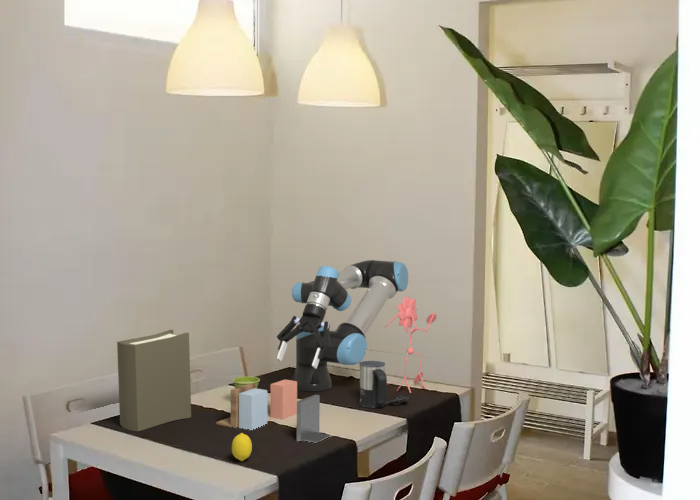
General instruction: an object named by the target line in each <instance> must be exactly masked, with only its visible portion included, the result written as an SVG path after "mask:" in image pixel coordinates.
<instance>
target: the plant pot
mask: <svg viewBox="0 0 700 500" xmlns="http://www.w3.org/2000/svg"><path fill="white" fill-rule="evenodd" d="M260 381H261V378H259V377H257V376H239V377H236V378H235V377H234V378H233V379H232V382H233V385H234V388H238V387H241V386H244V385H247V384H250V383H252V384H256V388H257V389H258V386H259V383H260Z"/></svg>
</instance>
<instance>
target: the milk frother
mask: <svg viewBox="0 0 700 500" xmlns="http://www.w3.org/2000/svg"><path fill="white" fill-rule="evenodd" d="M358 365H359V402H358V405H359V406H361V407H364V408H368V409H370V408H373V409H375V408H382V407H384V406H385V405H387V404H391V403H397V402H398V404H399V405H400V404H404V403H405V402H406V400H409V396H402V395H398V396H397V397H396V398H395V399H390V400H389V401H387V387H388V386H387V385H388V379H387V375H386V372H385V365H386V363H385V362H383V361H379V360H363V361H360V362H359V363H358Z"/></svg>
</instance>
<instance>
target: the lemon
mask: <svg viewBox="0 0 700 500" xmlns="http://www.w3.org/2000/svg"><path fill="white" fill-rule="evenodd" d="M252 451H253V444H252V440H251V438H250V436H248V435H247V434H244V433H243V432H240V433H239V434H236V436H234V438H233V440H232V443H231V453H232V455H233V457H234V458H236V459H237V460H239V461H240V462H244V461H245V460H246V459H248V458H249V457H250V456H251V453H252Z"/></svg>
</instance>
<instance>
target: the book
mask: <svg viewBox="0 0 700 500" xmlns="http://www.w3.org/2000/svg"><path fill="white" fill-rule="evenodd" d="M116 344H117V348H116V349H117V371H118V372H117V375H118V376H117V377H118V379H117V380H118V401H119V405H118V407H119V426H120V425H121V426H122V427H121V426H120V427H121V428H123V429H124V430H128V431H133V432H140V431H144V430H147V429H150V428H153V427H157V426H161V425H164V424H167V423H170V422H173V421H178V420H183V419H191V418H192V397H191V364H190V363H191V359H190V358H191V357H190V333H189V332H184V333H181V334H177V335H176V334H174V329H169V330H165V331H163V332H159V333H156V334H152V335H147V336H142V337H138V338H131V339H125V340H120V341H116Z"/></svg>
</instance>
